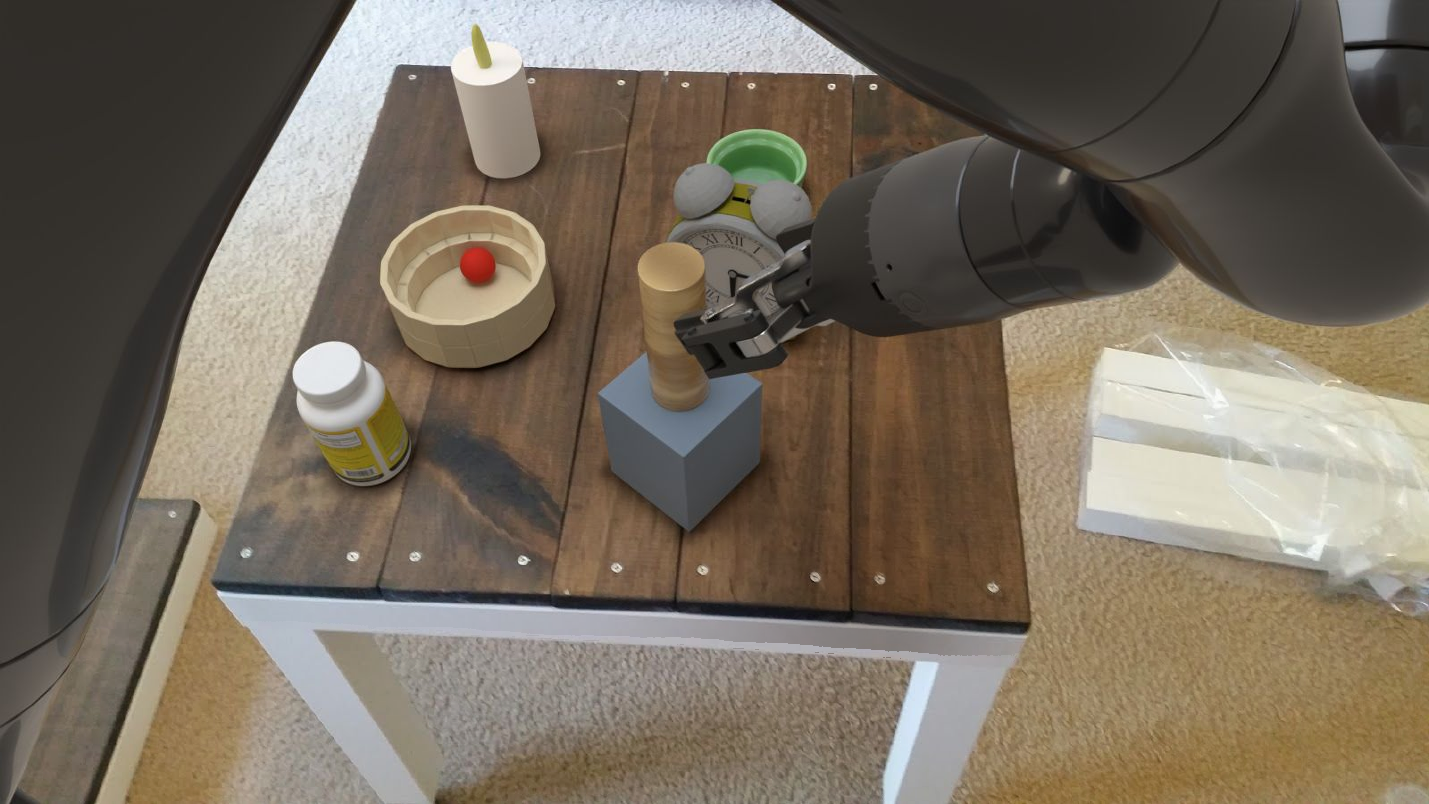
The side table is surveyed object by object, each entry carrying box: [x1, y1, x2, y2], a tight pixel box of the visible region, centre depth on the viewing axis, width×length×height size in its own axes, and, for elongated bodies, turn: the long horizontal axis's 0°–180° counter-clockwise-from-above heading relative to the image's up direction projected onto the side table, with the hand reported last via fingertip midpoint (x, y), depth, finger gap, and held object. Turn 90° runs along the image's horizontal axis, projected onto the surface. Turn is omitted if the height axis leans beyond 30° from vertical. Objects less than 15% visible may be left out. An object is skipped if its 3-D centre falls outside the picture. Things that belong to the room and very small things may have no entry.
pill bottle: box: [292, 341, 412, 487], centre depth 76 cm, size 6×6×11 cm
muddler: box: [637, 242, 709, 411], centre depth 67 cm, size 4×4×12 cm
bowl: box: [379, 204, 556, 369], centre depth 87 cm, size 13×13×6 cm
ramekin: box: [706, 128, 808, 189], centre depth 95 cm, size 9×9×4 cm
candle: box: [450, 23, 541, 179], centre depth 95 cm, size 6×6×15 cm
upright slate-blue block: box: [597, 351, 763, 533], centre depth 76 cm, size 8×8×10 cm
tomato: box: [460, 247, 496, 283], centre depth 90 cm, size 3×3×3 cm
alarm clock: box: [665, 162, 813, 341], centre depth 83 cm, size 12×7×15 cm, turn 70°
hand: (737, 290), depth 58 cm, fingers open, 8 cm apart
